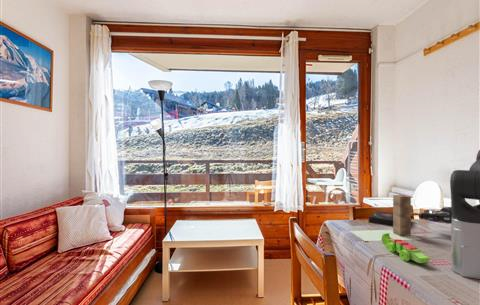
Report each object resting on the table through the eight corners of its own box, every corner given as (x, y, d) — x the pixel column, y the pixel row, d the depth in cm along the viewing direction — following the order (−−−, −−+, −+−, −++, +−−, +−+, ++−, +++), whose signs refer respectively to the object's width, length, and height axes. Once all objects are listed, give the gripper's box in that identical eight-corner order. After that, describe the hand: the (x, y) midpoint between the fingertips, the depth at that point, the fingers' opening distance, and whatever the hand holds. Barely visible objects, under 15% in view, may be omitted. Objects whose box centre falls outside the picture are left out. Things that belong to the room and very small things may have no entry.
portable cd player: (376, 217, 155) (376, 210, 155) (410, 222, 144) (410, 215, 144) (368, 223, 142) (368, 216, 142) (405, 230, 131) (405, 222, 131)
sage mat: (401, 230, 129) (401, 229, 129) (422, 240, 115) (422, 239, 115) (349, 231, 128) (349, 230, 128) (364, 241, 114) (364, 240, 114)
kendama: (400, 208, 161) (440, 210, 147) (400, 217, 160) (441, 221, 146) (397, 207, 157) (439, 210, 143) (397, 217, 156) (439, 221, 142)
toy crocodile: (433, 267, 89) (433, 249, 89) (415, 268, 89) (415, 250, 89) (393, 246, 109) (393, 231, 109) (378, 246, 108) (378, 232, 108)
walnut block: (403, 232, 125) (404, 194, 124) (411, 236, 120) (411, 196, 119) (393, 232, 124) (393, 195, 124) (400, 236, 119) (400, 197, 119)
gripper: (443, 204, 130) (409, 204, 129) (468, 210, 116) (430, 211, 116) (443, 219, 130) (409, 220, 129) (468, 227, 117) (430, 228, 116)
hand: (419, 215), depth 122 cm, fingers closed
